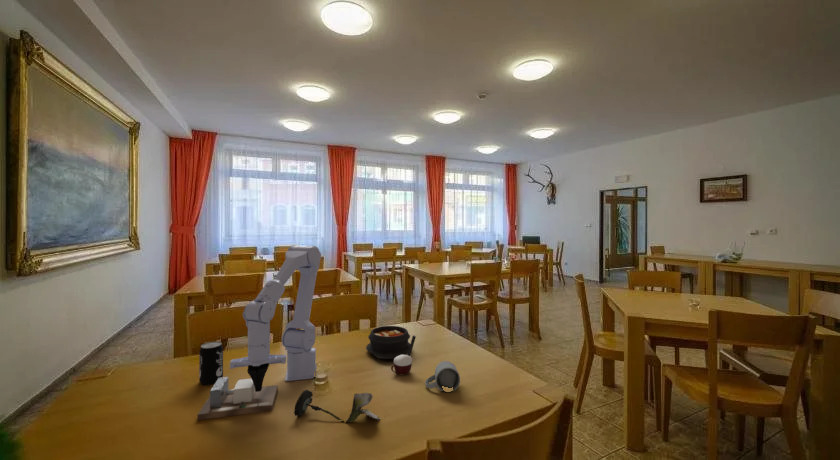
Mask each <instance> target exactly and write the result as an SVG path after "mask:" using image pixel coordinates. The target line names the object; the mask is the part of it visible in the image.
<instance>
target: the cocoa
mask: <svg viewBox="0 0 840 460" xmlns="http://www.w3.org/2000/svg"><path fill="white" fill-rule="evenodd" d="M416 337H417V335H412V338H411V341H410V347H409V351H408V354H407V355H399V356H397V357H395V358H394V359H393V365H392V366H391V368H390V370H391V371H392V372H393V373H394V374H398V375H399V374H403V375H402V376H405V375H404V374H406V375H408V374H409V373H410V371H411V369H412V366H413V364H412V363H413V358H412V357H411V354H412V351H413V348H414V345H415V341H416ZM407 373H408V374H407Z"/></svg>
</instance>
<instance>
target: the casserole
mask: <svg viewBox="0 0 840 460" xmlns="http://www.w3.org/2000/svg"><path fill="white" fill-rule="evenodd" d="M369 333H370V334H368V339H369V341H370V342H369V343H368V344H367V345H366V346H365V349H366V351H367V352H368V353H370V354H372V355H373V356H374V357H376V358H377V359H380V360H394V358H395V357H397V356H399V355H407V354H408V351H409V347H410V344H411V342H409V339H410V338H411V335H410V333H409V331H408V329H407V328H404V327H402V326H396V325H383V326H379V327H378V326H377V327H375V328H373V329H371V330H370V332H369Z"/></svg>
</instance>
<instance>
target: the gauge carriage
mask: <svg viewBox="0 0 840 460" xmlns="http://www.w3.org/2000/svg"><path fill="white" fill-rule="evenodd" d="M254 394H255V386H254V383H253V381H252V379H251V378H244V379H238V381H237V382H236V384H235V386H234V388H233V389H228V390H226V395H233V404H237V403H241V404H240V406H239V408H240V407H242V405H243V403H245V402H251V401H252V399H253V396H254Z"/></svg>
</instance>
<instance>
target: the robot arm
mask: <svg viewBox="0 0 840 460" xmlns="http://www.w3.org/2000/svg"><path fill="white" fill-rule="evenodd" d="M284 255H285V259H284V262H283V264H282V266H281V267H280V269H279V270H278V272H277V274H276V276H275V277H274V279H270V280H268V281H266V283H265V285H264V286H263V287H262V289H261V290H260V292H259V293H258V294H257V296H256V298H255V299H254V300H252V301H250V302H249V303H248V304H247V305H245V307H244V310H243V312H242V317H243V319H244V321H245V326H246V327H247V356H246V357H241V358H240V357H239V358H234V359H233V358H232V359H231V360H230V362H229V369H230V370H233V369H235V368H243V367H247V374H248V376H250V379H252V381H253V383H254V386H255V391H256V392H258V391H261V389H262V387H263V382H264V379H265V376H266V373H267V371H268V369H269V367H270V365H274V364H282V365H284V364H285V365H287V366H286V367H287V368H286V374H285V378H284V381H285V382H291V381H301V380H310V379H314V378H313V377H314V372H315V373H316V371H317V368H318V366H317V363H316V359H317V355H316V351H317V350H316V347H314V345H315V342H316V332H315V331H316V326H315V325H314V324H313V323H312V322H311V321H310V317H311V311H312V306H313V305H312V304H313V300H314V293H315V288H316V280H317V275H318V271H319V269H320V264H321V259H322V258H321V257H322V254H321V251H320V249H319V247H317V246H316V245H312V246H311V245H290V246H289V247H288V249H287V250H286V252H285V254H284ZM297 270H298V271H299V273H300V278H299V283H298V290H297V294H296V295H297V296H296V301H295V306H294V313H293V319H292V320H290V321H289V322H288V323H286V325H285V329H284V331H283V333H282V335H281V345H282V346H283V347H284V348H285V351H286V354H270V353H271V351H270V349H271V348H270V347H271V345H270V344H271V343H270V342H271V337H270V336H271V335H270V333H271V326H270V325H271V323H270V322H271V320H272V319H273V318H274V317H275V313H276V309H277V303H278V302H279V301H280V299H281V297H282V296H283V294H284V292H285V291H286V287H285V285H286V283H287V282H288V281H289V279H290V278H291V277H292V276H293V274H294V273H295V271H297ZM315 370H316V371H315Z"/></svg>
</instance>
